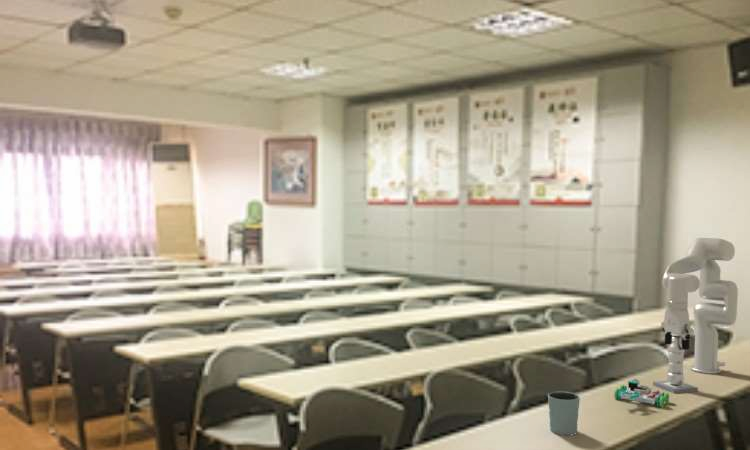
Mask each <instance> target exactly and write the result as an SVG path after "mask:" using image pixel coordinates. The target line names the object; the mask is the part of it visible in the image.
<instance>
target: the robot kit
mask: <svg viewBox="0 0 750 450" xmlns="http://www.w3.org/2000/svg"><path fill="white" fill-rule="evenodd" d="M627 382H628V383H627V384H628V388H627V385H623V384H621V385H620V386H619V388H615V389H614V394H613V397H614V399H615V400H618V401H619V400H622V399H623V400H624V399H625V400H629V401H635V402H640V403H641V402H642V403H647V404H651V405H655V404H656V406H657V407H658V408H661V407H663V408H664V407H665V405H667V404H669V402H670V401H669V400H670V395H669V393H668V392H660V389H654V390H653V391H652V387H649V386H645V385H641V384H640V383H641V382H640V380H639V379H637V378H634V377H633V378H632V379H631V380H628V381H627Z"/></svg>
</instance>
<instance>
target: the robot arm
mask: <svg viewBox="0 0 750 450" xmlns="http://www.w3.org/2000/svg"><path fill="white" fill-rule="evenodd" d="M735 249H736V248H735V246H734V244H733V243H732V242H730V241H728V240H726V239H724V238H719V237H718V238H716V237H714V238H713V237H698V238H695V239H693V240H692V241H691V243H690V245H689V247H688V249H687V251H686V253H685V255H684V257H682V258H679V259H677V260H675V261H673V262H671V263H670V264H669V265H668V266H667V268H666V270H665V271H664V273H663V277H662V281H661V284H662V286H663V288H664V289H665V290H666V291H667V302H666V303H667V307H666V308H665V312H664V318H663V321H662V322H661V323H660V325H661V329H662V332H663V335H664V345H670V344H671V343H672V341H671V339H672V336H673V334H675V335H677V336H678V335H679V336H680V337H681V344H682V349H683V350H690V340H691V339H692V338H693V335H694V360H693V361H694V362H693V363H694V364H692V365H690V370H691V371H692V372H696V373H700V374H708V375H710V374H711V375H715V374H721V373H722V369H721V368H720V367H725V366H726V363H725V361H718V353H719V352H718V351H719V350H718V348H719V332H718V330H717V329H716V327H715V326H714V325H720V326H725V327H726V326H727V327H728V326H729V327H730V326H734V325H735V323H736V321H737V314H738V296H739V295H738V294H739V292H738V291H739V290H738V289H739V288H738V286H737V284H736V282H734V281H732V280H727V279H726V280H723V279H721V272H722V271H721V267H720V266H719V264H718V263H717V261H720V262H721V261H722V262H723V261H724V262H726V261H727V262H729V261H731V260H732V259H733V258H734V256H735V253H736V250H735ZM698 271H699V277H698V276H696V275H694V274H690V273H694V272H698ZM696 291H698V296H699V297H700V298H701V299H704V300H710V301H720V302H724V303H715V302H708V301H706V302H705V301H704V302H703V301H701V302H698V303H696V304H695V305H694V306H693V319H694V329H693V328H692V327H691V326H690V313H689V310H688V308H689V307H688V305H689V303H688V301H689V300H688V298H689V293H694V292H696Z"/></svg>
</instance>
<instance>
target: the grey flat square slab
mask: <svg viewBox="0 0 750 450" xmlns="http://www.w3.org/2000/svg"><path fill="white" fill-rule="evenodd" d="M652 386H655V387H656V388H658V389H659V388H660V389H662V390H665V391H667V392H669V393H672V394H680V393H690V392H691V393H692V392H698V391H699V387H697V386H694V385H691V384H690V383H686V382H683V384H681V385H674V384H670V383H669V382H668V381H667V380H661V381H660V380H659V381H657V380H656V381H653V382H652Z"/></svg>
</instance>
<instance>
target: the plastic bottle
mask: <svg viewBox="0 0 750 450" xmlns="http://www.w3.org/2000/svg"><path fill="white" fill-rule="evenodd" d="M671 341H672V343H671V344H668V348H667V352H668V370H667V374H666V375H667V376H666V381H668V382H669V383H670V384H674V385H681V384H683V382H684V381H685V377H684V369H683V368H684V366H683V365H684V357H685V352H686V351H685V350H686V349H685V350H683V349H682V336H681V335H679V336H678V335H672V339H671ZM684 383H685V382H684Z"/></svg>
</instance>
